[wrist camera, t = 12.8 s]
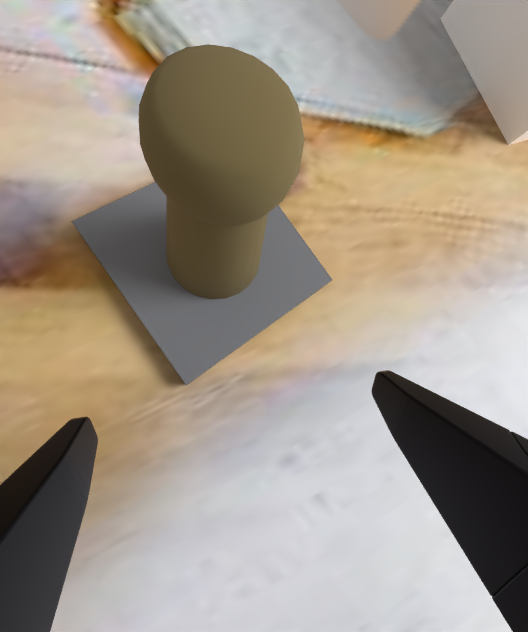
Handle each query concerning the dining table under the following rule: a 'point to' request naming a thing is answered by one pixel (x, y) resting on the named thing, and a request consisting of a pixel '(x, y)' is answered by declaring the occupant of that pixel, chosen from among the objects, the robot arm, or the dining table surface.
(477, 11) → the white slotted block
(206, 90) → the cork
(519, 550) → the robot arm
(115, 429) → the dining table surface
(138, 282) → the charcoal mat
